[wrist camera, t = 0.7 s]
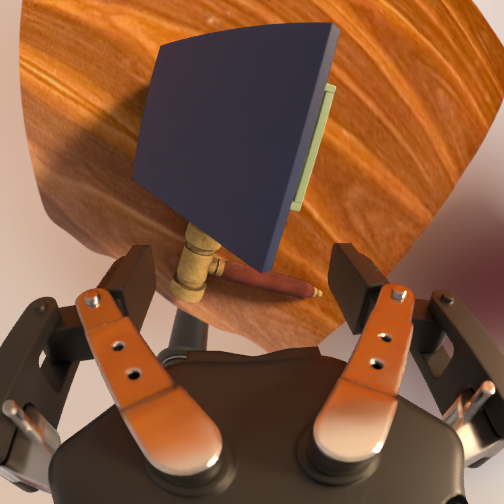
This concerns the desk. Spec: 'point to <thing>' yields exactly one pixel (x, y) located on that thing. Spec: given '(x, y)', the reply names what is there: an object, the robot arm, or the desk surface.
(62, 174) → the desk surface
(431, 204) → the desk surface
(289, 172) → the lid
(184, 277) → the gavel
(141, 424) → the robot arm
